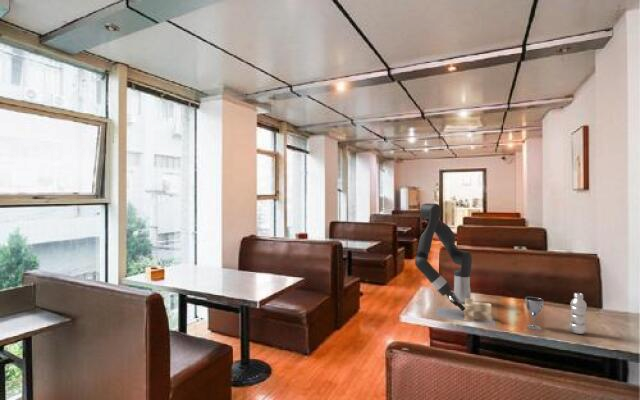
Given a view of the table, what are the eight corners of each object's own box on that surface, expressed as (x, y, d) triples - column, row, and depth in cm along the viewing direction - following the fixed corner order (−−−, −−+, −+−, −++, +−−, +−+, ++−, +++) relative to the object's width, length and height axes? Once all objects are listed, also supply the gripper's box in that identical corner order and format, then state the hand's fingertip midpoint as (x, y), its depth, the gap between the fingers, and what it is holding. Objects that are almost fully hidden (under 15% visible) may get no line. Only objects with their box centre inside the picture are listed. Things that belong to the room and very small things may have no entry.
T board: (434, 318, 185) (434, 316, 185) (436, 308, 201) (436, 306, 201) (495, 327, 173) (495, 325, 173) (492, 316, 190) (492, 314, 190)
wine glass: (540, 325, 176) (540, 297, 176) (544, 331, 169) (545, 302, 169) (523, 323, 179) (523, 296, 179) (526, 329, 171) (527, 300, 171)
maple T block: (465, 319, 180) (465, 305, 180) (464, 311, 193) (465, 298, 193) (491, 323, 175) (492, 308, 175) (489, 315, 188) (490, 301, 188)
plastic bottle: (565, 330, 170) (566, 291, 170) (578, 330, 171) (579, 291, 171) (576, 335, 164) (577, 295, 164) (589, 335, 164) (590, 295, 164)
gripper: (446, 283, 184) (469, 309, 180) (446, 278, 197) (468, 302, 192) (435, 292, 187) (458, 317, 182) (437, 286, 199) (458, 310, 194)
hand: (463, 309), depth 187 cm, fingers closed
